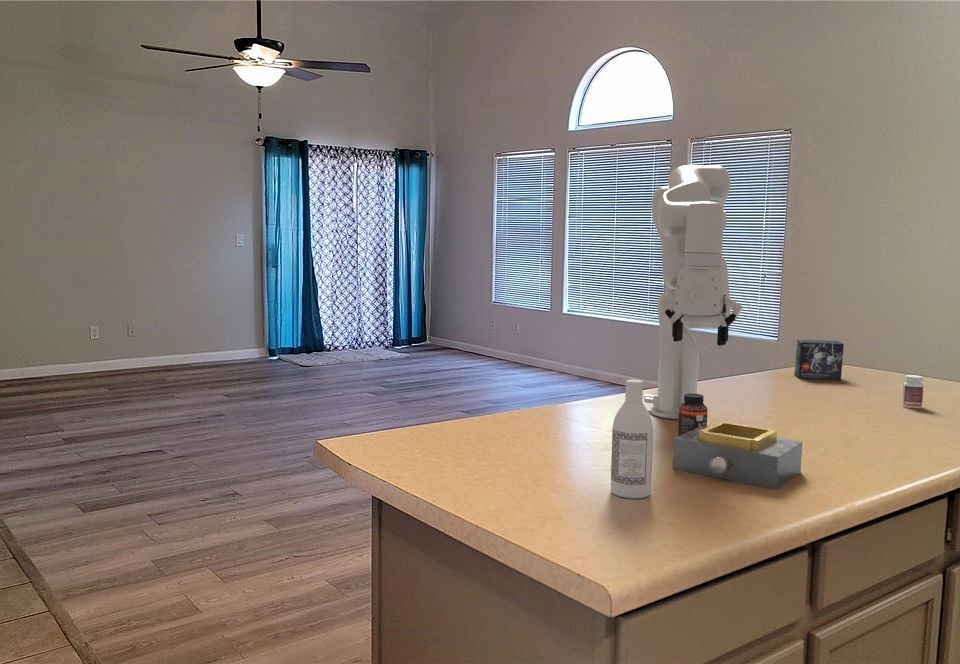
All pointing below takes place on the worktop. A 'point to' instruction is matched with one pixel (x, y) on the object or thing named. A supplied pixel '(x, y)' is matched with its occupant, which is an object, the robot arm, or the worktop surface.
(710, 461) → the grey boxy piece
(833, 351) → the small box
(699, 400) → the supplement bottle
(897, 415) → the worktop surface
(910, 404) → the pill bottle
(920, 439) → the worktop surface
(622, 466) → the bath foam
